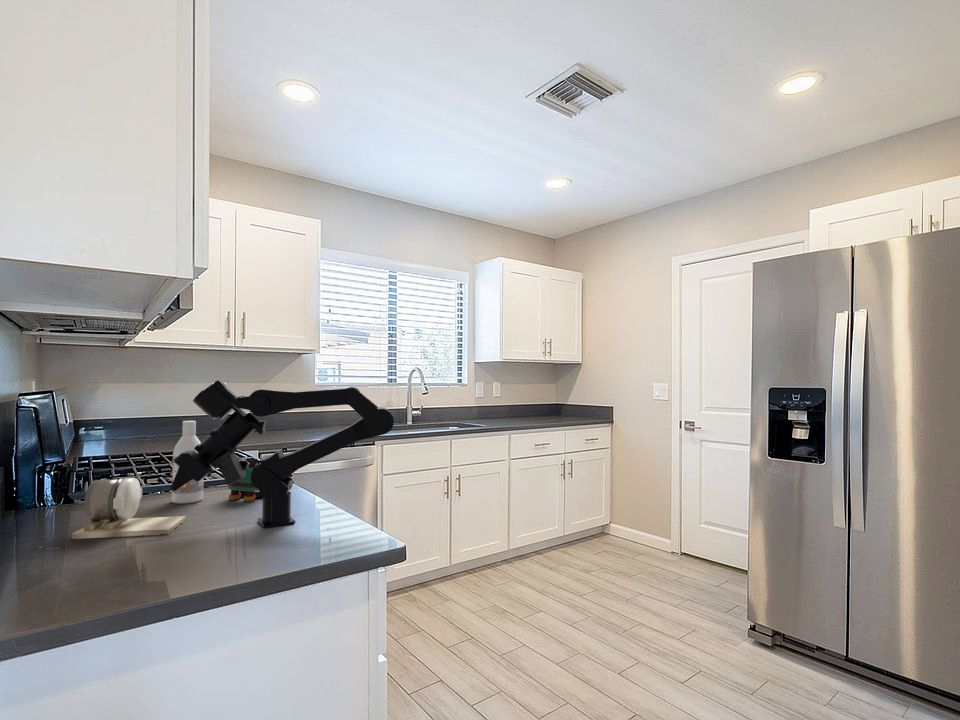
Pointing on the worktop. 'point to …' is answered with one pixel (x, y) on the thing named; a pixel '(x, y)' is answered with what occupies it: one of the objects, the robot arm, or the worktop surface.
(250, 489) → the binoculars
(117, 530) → the birch board
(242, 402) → the robot arm
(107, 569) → the worktop surface
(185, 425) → the bath foam
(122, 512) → the white oval slab
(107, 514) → the cylinder
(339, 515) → the worktop surface
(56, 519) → the worktop surface
